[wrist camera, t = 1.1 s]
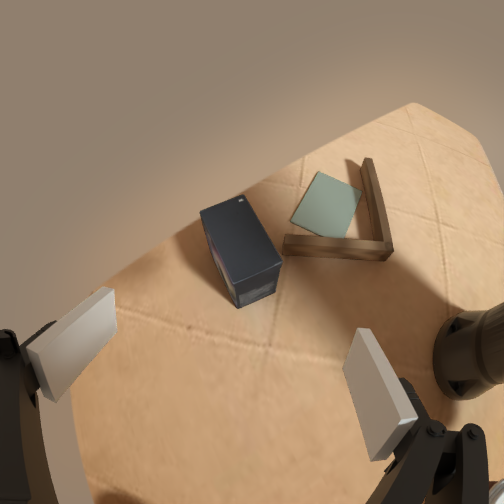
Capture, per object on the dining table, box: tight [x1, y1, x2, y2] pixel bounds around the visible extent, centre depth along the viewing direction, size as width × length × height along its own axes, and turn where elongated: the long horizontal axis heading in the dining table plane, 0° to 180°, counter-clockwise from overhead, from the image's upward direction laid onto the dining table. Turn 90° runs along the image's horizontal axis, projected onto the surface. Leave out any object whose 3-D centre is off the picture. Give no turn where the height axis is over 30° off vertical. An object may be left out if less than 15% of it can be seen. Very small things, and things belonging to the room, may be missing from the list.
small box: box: [200, 194, 283, 309], centre depth 37 cm, size 11×6×10 cm, turn 26°
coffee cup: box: [489, 479, 504, 504], centre depth 16 cm, size 9×9×12 cm
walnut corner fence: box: [282, 158, 394, 261], centre depth 45 cm, size 17×20×4 cm
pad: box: [290, 172, 362, 238], centre depth 47 cm, size 9×13×1 cm
